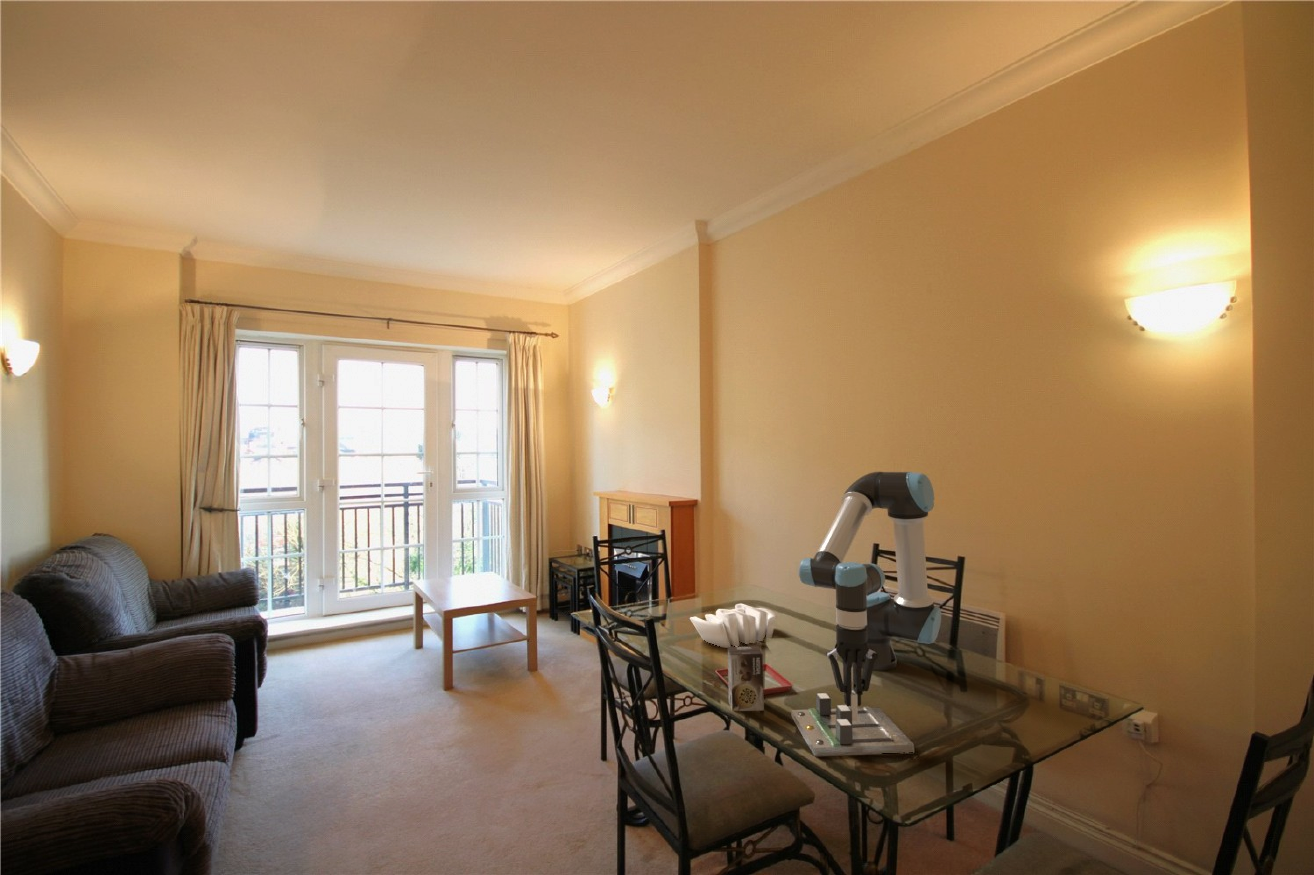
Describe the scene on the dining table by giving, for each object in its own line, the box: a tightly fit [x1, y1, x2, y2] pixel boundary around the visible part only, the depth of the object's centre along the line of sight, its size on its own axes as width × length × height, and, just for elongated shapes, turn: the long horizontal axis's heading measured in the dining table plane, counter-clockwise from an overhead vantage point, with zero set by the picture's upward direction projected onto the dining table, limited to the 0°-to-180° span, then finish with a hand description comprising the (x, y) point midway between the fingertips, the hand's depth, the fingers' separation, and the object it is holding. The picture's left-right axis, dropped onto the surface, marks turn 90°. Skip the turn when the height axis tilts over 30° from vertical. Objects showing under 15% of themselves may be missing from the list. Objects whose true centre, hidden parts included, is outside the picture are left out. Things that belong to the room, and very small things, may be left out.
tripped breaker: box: [835, 704, 852, 724], centre depth 150 cm, size 3×3×4 cm
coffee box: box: [727, 645, 765, 712], centre depth 166 cm, size 9×6×16 cm
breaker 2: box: [836, 719, 853, 744], centre depth 142 cm, size 3×3×4 cm
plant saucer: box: [714, 663, 794, 695], centre depth 180 cm, size 18×18×3 cm
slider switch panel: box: [790, 705, 915, 757], centre depth 150 cm, size 24×20×3 cm
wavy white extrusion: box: [689, 602, 777, 649], centre depth 225 cm, size 35×16×11 cm, turn 117°
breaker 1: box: [815, 692, 832, 715], centre depth 157 cm, size 3×3×4 cm
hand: (852, 718), depth 150 cm, fingers closed
